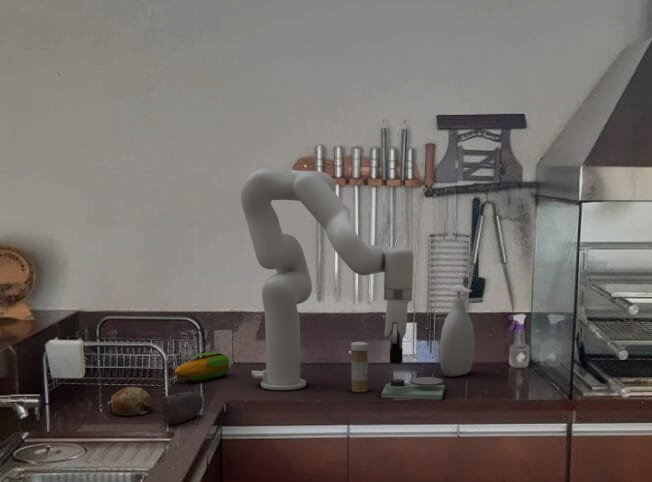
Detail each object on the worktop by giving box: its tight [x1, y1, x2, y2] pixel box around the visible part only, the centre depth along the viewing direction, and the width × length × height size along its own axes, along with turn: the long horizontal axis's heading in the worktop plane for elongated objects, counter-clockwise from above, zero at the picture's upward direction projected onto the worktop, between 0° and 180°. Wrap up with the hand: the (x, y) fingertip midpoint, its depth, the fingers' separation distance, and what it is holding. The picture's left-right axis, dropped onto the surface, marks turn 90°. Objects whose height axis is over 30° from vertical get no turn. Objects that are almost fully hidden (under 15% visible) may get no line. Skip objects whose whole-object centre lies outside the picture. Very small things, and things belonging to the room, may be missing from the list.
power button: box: [390, 378, 405, 387], centre depth 241 cm, size 4×4×2 cm
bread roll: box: [107, 386, 154, 417], centre depth 221 cm, size 10×10×8 cm
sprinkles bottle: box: [350, 341, 369, 393], centre depth 245 cm, size 5×5×14 cm
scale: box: [380, 382, 445, 401], centre depth 243 cm, size 16×12×3 cm
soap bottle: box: [439, 284, 475, 378], centre depth 267 cm, size 14×8×27 cm, turn 137°
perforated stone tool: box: [159, 391, 204, 426], centre depth 213 cm, size 15×5×7 cm, turn 155°
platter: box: [410, 376, 444, 386], centre depth 244 cm, size 9×9×1 cm
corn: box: [173, 351, 231, 382], centre depth 259 cm, size 7×8×20 cm
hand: (395, 362), depth 240 cm, fingers closed
